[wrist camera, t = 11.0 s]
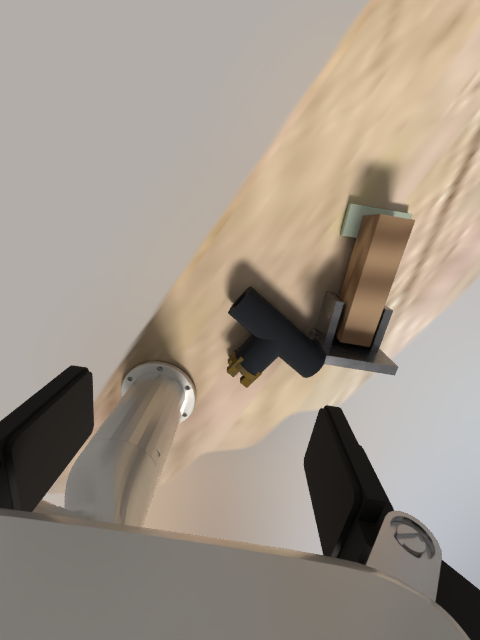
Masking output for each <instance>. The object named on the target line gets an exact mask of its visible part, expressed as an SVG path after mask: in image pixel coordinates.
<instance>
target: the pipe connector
mask: <svg viewBox="0 0 480 640" xmlns="http://www.w3.org/2000/svg"><path fill="white" fill-rule="evenodd" d="M228 314H230V315H231V316H232V317H233V318H234V319H236V320H237V321H238V322H239V323H240V324H241V325H243V326H244V327H245V328H246V329H247V330H248V331H250V332H251V333H252V334H253V335H252V336H251V337H250V338H249V339H248V340H247V341H246V342H245V343H244V344H243V345H242V346H241V347H240V348H239V349H238V350H236V351H235V352H234V353H233V354H232V355H231V357H230V358H229V359H228V364H229V366H228V367H227V373H229V374H230V375H231V376H232V377H234V376H235V375H236V374H237V373H238V372H240V373H241V374H242V375H243V376H242V377H241V378H240V383H241V384H243V385H244V386H245V387H246V388H247V387H248V386H249V385H250V384H251V383H252V382H254V381H255V380H256V379H257V378H258V377H259V376H260V375H261V374H262V372H263V371H264V370H265V369H266V368H267V367H268V366H269V365H270V364H271V363H272V362H273V361H274V360H275V359H276V358H277V357H278V356H279V357H280V358H281V359H283V360H284V361H285V362H286V363H287V364H288V365H290V366H291V367H292V368H293V369H294V370H295V371H297V372H298V373H299V374H300V375H301V376H303V377H305V378H308V377H311V376H313V375H314V374H316V373H317V372H318V371H319V370H320V369H321V368H322V366H323V365H324V363H323V361H322V359H321V357H320V355H319V353H318V351H317V349H316V347H315V346H314V344H313V342H312V341H311V340H310V339H309V338H308V337H307V336H306V335H305V334H304V333H303V332H301V331H300V330H299V329H298V328H297V327H296V326H295V325H294V324H293V323H291V322H290V321H289V320H288V319H287V318H286V317H285V316H284V315H283V314H281V313H280V312H279V311H278V310H277V309H276V308H275V307H274V306H272V305H271V304H270V303H269V302H268V301H267V300H266V299H265V298H264V297H262V296H261V295H260V294H259V293H258V292H257V291H256V290H255V289H254V288H252V287H249V288H248V289H247V290H246V291H245V292H244V293H243V294H242V295H241V296H240V297H239V298H238V299H237V300H236V301H235V303H234V304H233V305H232V307H231V308H230V310H229V312H228Z"/></svg>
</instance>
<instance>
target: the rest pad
mask: <svg viewBox="0 0 480 640" xmlns="http://www.w3.org/2000/svg"><path fill="white" fill-rule="evenodd" d="M374 214H383V215H389V216H395V217H400V218H406V219H410V218H411V215H412V214H409V213H404V212H398V211H392V210H386V209H380V208H375V207H369V206H363V205H357V204H348V208H347V212H346V215H345V219H344V223H343V226H342V230H341V234H340V235H341V236H347V237H353V238H357V235H358V231H359V228H360V225H361V221H362V218H363V215H374Z"/></svg>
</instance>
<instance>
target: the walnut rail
mask: <svg viewBox="0 0 480 640" xmlns="http://www.w3.org/2000/svg"><path fill="white" fill-rule="evenodd" d="M414 222H415V220H412V219H406V218H400V217H395V216H389V215H383V214H374V215H363V218H362V221H361V225H360V228H359V231H358V235H357V238H356V241H355V245H354V248H353V252H352V255H351V258H350V262H349V265H348V268H347V272H346V275H345V279H344V282H343V285H342V289H341V292H340V295H339V299H341V300H342V301H343V302H344V304H343V308H342V311H341V314H340V318H339V321H338V324H337V328H336V331H335V334H334V335H335V336H336V337H337V339H338V340H339V341H340V342H343V343H349V344H355V345H361V346H367V347H370V345H371V342H372V339H373V336H374V334H375V331H376V328H377V325H378V322H379V320H380V317H381V314H382V311H383V308H384V306H385V303H386V300H387V297H388V295H389V292H390V289H391V286H392V283H393V281H394V278H395V275H396V272H397V269H398V267H399V264H400V261H401V258H402V256H403V253H404V250H405V247H406V244H407V242H408V239H409V236H410V233H411V230H412V228H413V225H414Z"/></svg>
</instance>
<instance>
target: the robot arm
mask: <svg viewBox="0 0 480 640" xmlns="http://www.w3.org/2000/svg"><path fill="white" fill-rule="evenodd" d="M92 380H93V379H92V373H91V372H89V370H88V368H86V367H79V366H70V367H69V368H67V369H66V370H65V371H63V372H62V373H61V374H60V375H58V376H57V377H56V378H54V379H53V380H52V381H51V382H49V383H48V384H47V385H46V386H44V387H43V388H42V389H41V390H39V391H38V392H37V393H35V394H34V395H33V396H32V397H30V398H29V399H28V400H27V401H25V402H24V403H23V404H22V405H20V406H19V407H18V408H17V409H15V410H14V411H13V412H11V413H10V414H9V415H8V416H7V417H5V418H4V419H3V420H1V421H0V640H480V590H479V589H478V588H477V587H475V586H474V585H473V584H471V583H470V582H469V581H468V580H467V579H465V578H464V577H463V576H462V575H460V574H459V573H458V572H457V571H455V570H454V569H453V568H451V567H450V566H449V565H448V564H447V563H445V562H444V561H443V560H442V553H441V549H440V546H439V544H438V541H437V540H436V539H435V537H434V535H433V534H432V533H431V532H430V530H428V528H427V527H426V526H425V525H424V524H423V523H421V522H420V521H419V520H418V519H416V518H415V517H413V516H411V515H409V514H407V513H404V512H401V511H394V509H393V507H392V505H391V503H390V501H389V499H388V497H387V495H386V493H385V491H384V489H383V487H382V485H381V483H380V481H379V479H378V477H377V475H376V473H375V471H374V469H373V467H372V465H371V463H370V461H369V459H368V457H367V455H366V453H365V451H364V449H363V448H362V446H360V445H359V444H358V442H357V440H356V438H355V436H354V434H353V432H352V430H351V428H350V426H349V424H348V422H347V420H346V417H345V415H344V414H343V411H342V410H341V408H339V407H334V406H327V405H326V406H325V407H324V409H323V408H321V409H320V410H319V412H318V416H317V419H316V422H315V425H314V428H313V432H312V435H311V438H310V441H309V444H308V448H307V451H306V454H305V457H304V469H305V473H306V478H307V483H308V487H309V492H310V496H311V500H312V506H313V510H314V515H315V519H316V523H317V528H318V533H319V537H320V542H321V546H322V551H323V555H318V554H312V553H306V552H300V551H295V550H289V549H283V548H276V547H269V546H263V545H256V544H250V543H244V542H237V541H230V540H224V539H217V538H211V537H204V536H197V535H191V534H184V533H177V532H170V531H163V530H156V529H149V528H143V525H144V521H145V518H146V515H147V511H148V508H149V505H150V502H151V499H152V497H153V493H154V491H155V488H156V485H157V483H158V480H159V477H160V474H161V472H162V469H163V466H164V463H165V460H166V458H167V455H168V452H169V449H170V446H171V444H172V441H173V438H174V435H175V432H176V430H177V427H178V424H179V423H181V422H183V421H184V420H186V419H187V418H188V417H189V416H190V414H191V413H192V411H193V409H194V406H195V403H196V390H195V387H194V385H193V383H192V381H191V379H190V378H189V377H188V376H187V374H186V373H184V372H183V371H182V370H181V369H179V368H177V367H176V366H174V365H171V364H168V363H165V362H157V361H152V362H146V363H143V364H140V365H138V366H136V367H134V368H133V369H132V370H131V371H130V372H129V373H128V374H127V375H126V377H125V379H124V381H123V383H122V387H121V396H122V398H121V400H120V401H119V403H118V404H117V405H116V407H115V408H114V409H113V411H112V412H111V413H110V415H109V416H108V417H107V419H106V420H105V422H104V423H103V424H102V426H101V427H100V428H99V430H98V431H97V432H96V434H95V435H94V436H93V438H92V439H91V441H90V442H89V443H88V445H87V446H86V447H85V449H84V450H83V451H82V453H81V454H80V456H79V457H78V458H77V460H76V461H75V463H74V465H73V466H72V468H71V471H70V473H69V476H68V479H67V483H66V490H65V508H62V507H58V506H56V505H53V504H51V503H49V502H47V501H44V500H42V498H43V497H44V496H45V494H46V493H47V492H48V490H49V489H50V488H51V486H52V485H53V484H54V482H55V481H56V480H57V478H58V477H59V476H60V475H61V473H62V472H63V471H64V469H65V468H66V467H67V465H68V464H69V463H70V461H71V460H72V459H73V457H74V456H75V455H76V453H77V452H78V451H79V449H80V448H81V447H82V445H83V444H84V443H85V441H86V440H87V439H88V437H89V436H90V435H91V433H92V431H93V427H94V414H93V381H92Z"/></svg>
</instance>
